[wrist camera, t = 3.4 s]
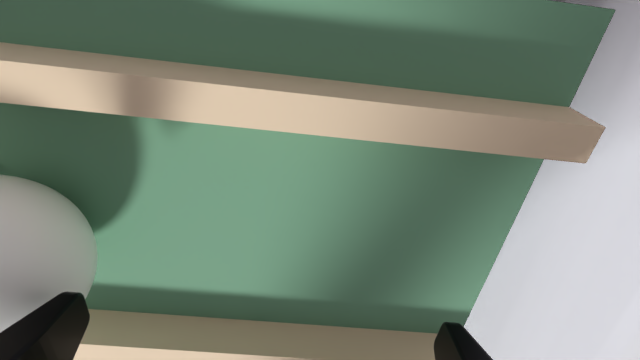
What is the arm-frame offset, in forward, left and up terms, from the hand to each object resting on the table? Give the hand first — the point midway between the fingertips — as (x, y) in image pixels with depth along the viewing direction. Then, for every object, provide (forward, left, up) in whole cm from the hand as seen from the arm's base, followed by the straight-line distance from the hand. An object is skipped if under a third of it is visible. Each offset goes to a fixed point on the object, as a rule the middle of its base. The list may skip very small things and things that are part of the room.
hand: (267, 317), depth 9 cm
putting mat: (0, +6, -6) cm, 8 cm away
